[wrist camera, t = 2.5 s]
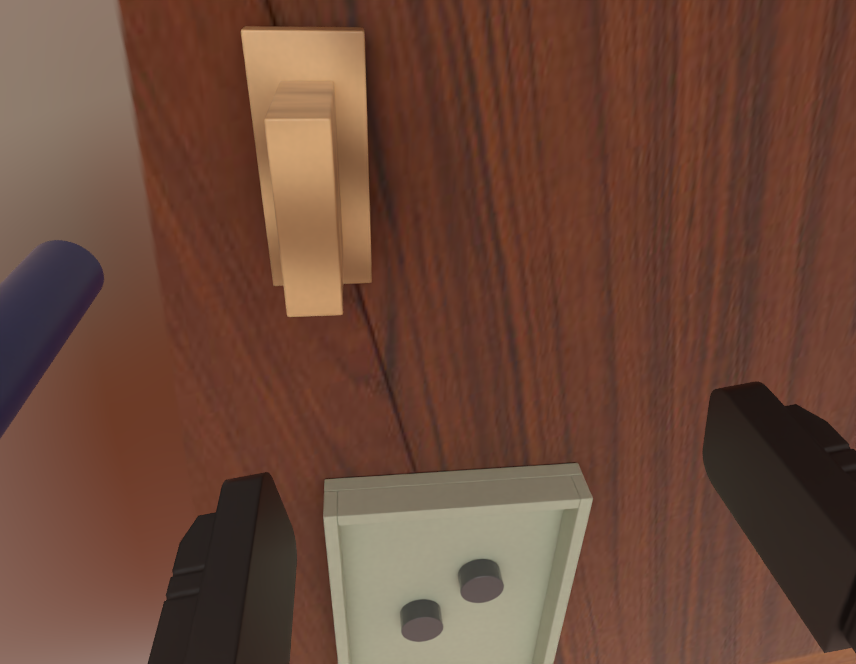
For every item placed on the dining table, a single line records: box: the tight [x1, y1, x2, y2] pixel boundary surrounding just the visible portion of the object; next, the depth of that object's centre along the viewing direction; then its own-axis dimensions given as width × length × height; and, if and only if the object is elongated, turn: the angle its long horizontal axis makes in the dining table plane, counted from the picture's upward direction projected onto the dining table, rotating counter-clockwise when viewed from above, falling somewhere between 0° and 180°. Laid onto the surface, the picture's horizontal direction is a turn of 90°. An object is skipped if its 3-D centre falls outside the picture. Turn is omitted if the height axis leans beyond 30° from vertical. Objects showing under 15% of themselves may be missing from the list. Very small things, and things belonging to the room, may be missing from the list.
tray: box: [323, 463, 593, 664], centre depth 44 cm, size 16×22×3 cm
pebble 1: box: [400, 599, 443, 642], centre depth 44 cm, size 3×3×1 cm
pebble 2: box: [458, 559, 504, 603], centre depth 43 cm, size 3×3×1 cm
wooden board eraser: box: [241, 26, 372, 317], centre depth 24 cm, size 10×4×8 cm, turn 179°
